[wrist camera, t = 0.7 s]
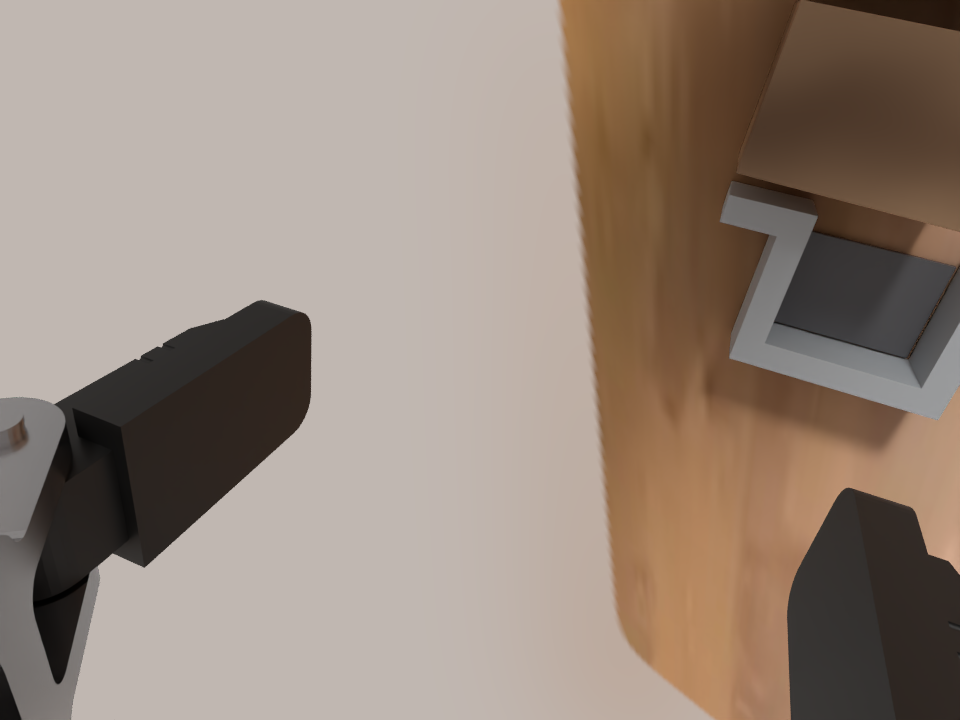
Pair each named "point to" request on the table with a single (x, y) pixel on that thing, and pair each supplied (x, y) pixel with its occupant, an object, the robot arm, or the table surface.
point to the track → (844, 309)
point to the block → (862, 114)
